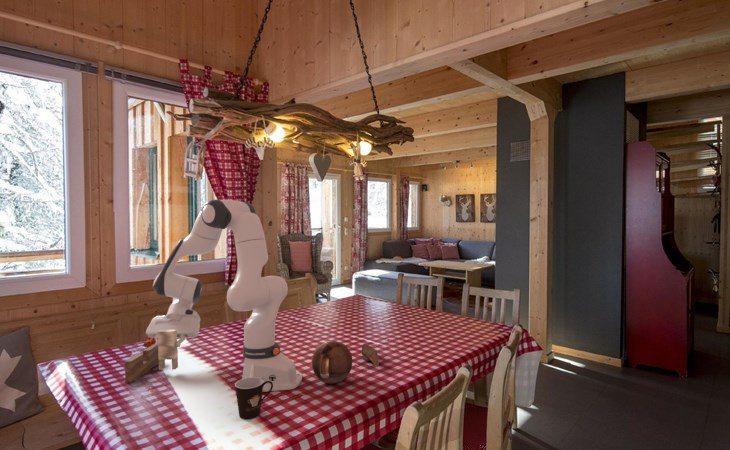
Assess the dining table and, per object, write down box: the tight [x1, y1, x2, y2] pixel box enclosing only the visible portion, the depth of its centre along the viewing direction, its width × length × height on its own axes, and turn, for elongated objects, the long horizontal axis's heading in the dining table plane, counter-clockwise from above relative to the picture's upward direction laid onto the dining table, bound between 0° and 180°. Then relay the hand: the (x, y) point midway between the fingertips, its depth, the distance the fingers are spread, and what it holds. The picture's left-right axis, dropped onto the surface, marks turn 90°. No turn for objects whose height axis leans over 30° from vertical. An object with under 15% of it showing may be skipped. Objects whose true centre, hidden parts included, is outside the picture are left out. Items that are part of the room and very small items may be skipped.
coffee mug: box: [234, 377, 273, 420], centre depth 127 cm, size 12×9×10 cm
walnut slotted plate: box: [124, 344, 159, 383], centre depth 162 cm, size 2×20×8 cm, turn 179°
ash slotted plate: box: [158, 330, 179, 371], centre depth 160 cm, size 6×2×15 cm, turn 89°
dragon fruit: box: [141, 337, 156, 349], centre depth 188 cm, size 8×8×12 cm
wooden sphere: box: [311, 340, 353, 384], centre depth 151 cm, size 15×15×15 cm
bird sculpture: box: [361, 343, 380, 368], centre depth 170 cm, size 7×25×5 cm, turn 15°
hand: (167, 346), depth 159 cm, fingers closed on ash slotted plate, 6 cm apart
